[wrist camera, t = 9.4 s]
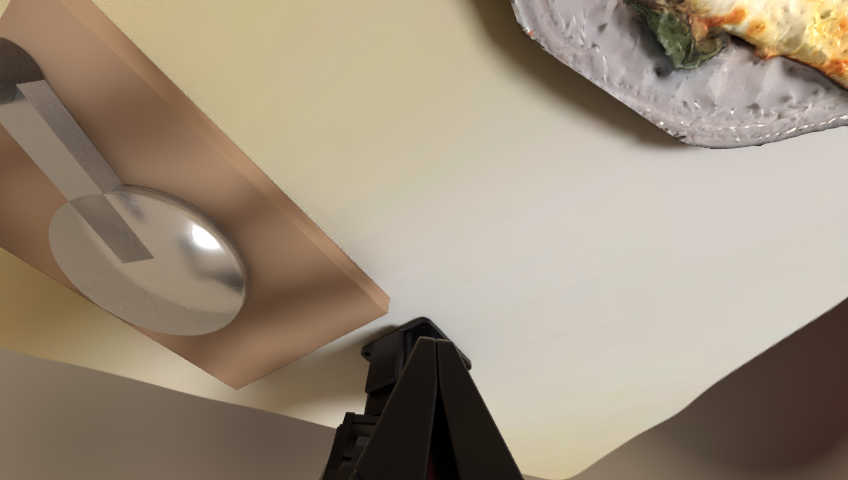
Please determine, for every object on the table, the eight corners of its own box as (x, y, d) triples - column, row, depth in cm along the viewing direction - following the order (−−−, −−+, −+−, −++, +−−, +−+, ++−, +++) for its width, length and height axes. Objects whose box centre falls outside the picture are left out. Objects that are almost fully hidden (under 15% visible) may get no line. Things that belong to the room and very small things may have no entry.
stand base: (389, 297, 24) (387, 315, 22) (245, 374, 29) (235, 392, 28) (63, -26, 14) (22, -31, 13) (-62, 177, 20) (-101, 189, 18)
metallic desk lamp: (279, 311, 22) (210, 439, 15) (146, 329, 23) (30, 454, 17) (90, 5, 13) (-271, -9, 6) (-106, 64, 14) (-570, 105, 8)
